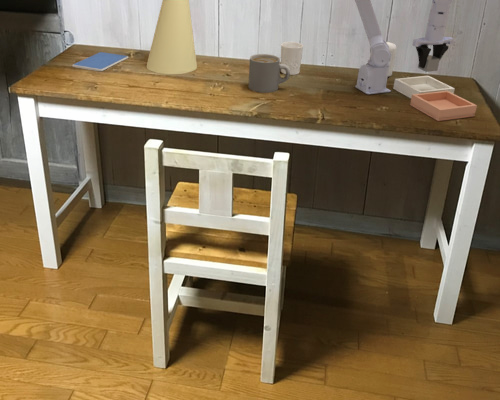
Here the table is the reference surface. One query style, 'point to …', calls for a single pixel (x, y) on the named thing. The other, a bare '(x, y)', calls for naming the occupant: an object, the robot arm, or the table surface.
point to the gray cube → (431, 64)
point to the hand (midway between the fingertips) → (427, 66)
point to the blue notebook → (100, 61)
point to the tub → (420, 85)
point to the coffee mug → (266, 73)
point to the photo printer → (393, 52)
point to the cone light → (173, 40)
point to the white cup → (291, 56)
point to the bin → (443, 105)
